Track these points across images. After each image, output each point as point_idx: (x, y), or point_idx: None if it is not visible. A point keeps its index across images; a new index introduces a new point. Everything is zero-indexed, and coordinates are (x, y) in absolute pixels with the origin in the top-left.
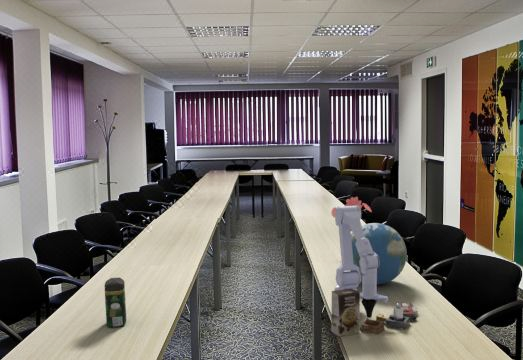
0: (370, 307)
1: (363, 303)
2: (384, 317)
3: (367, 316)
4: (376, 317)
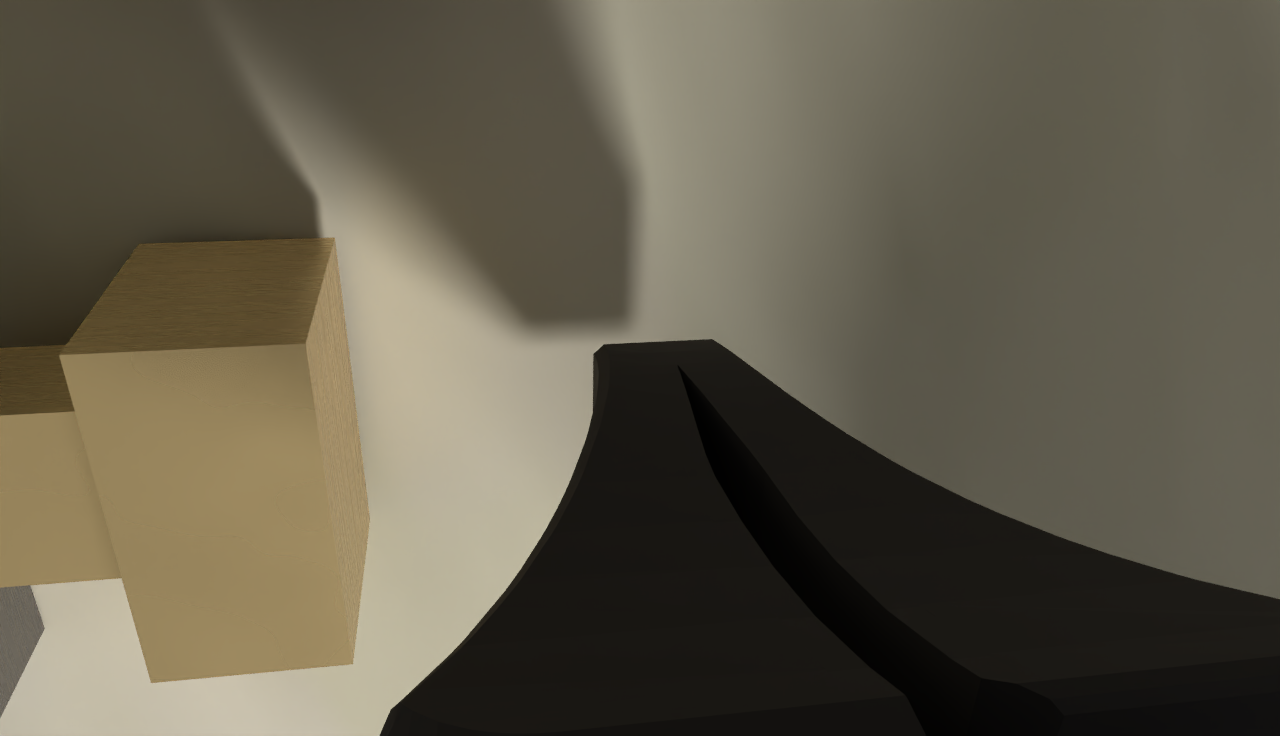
0: (624, 560)
1: (1190, 614)
2: (31, 495)
3: (704, 346)
4: (297, 322)
